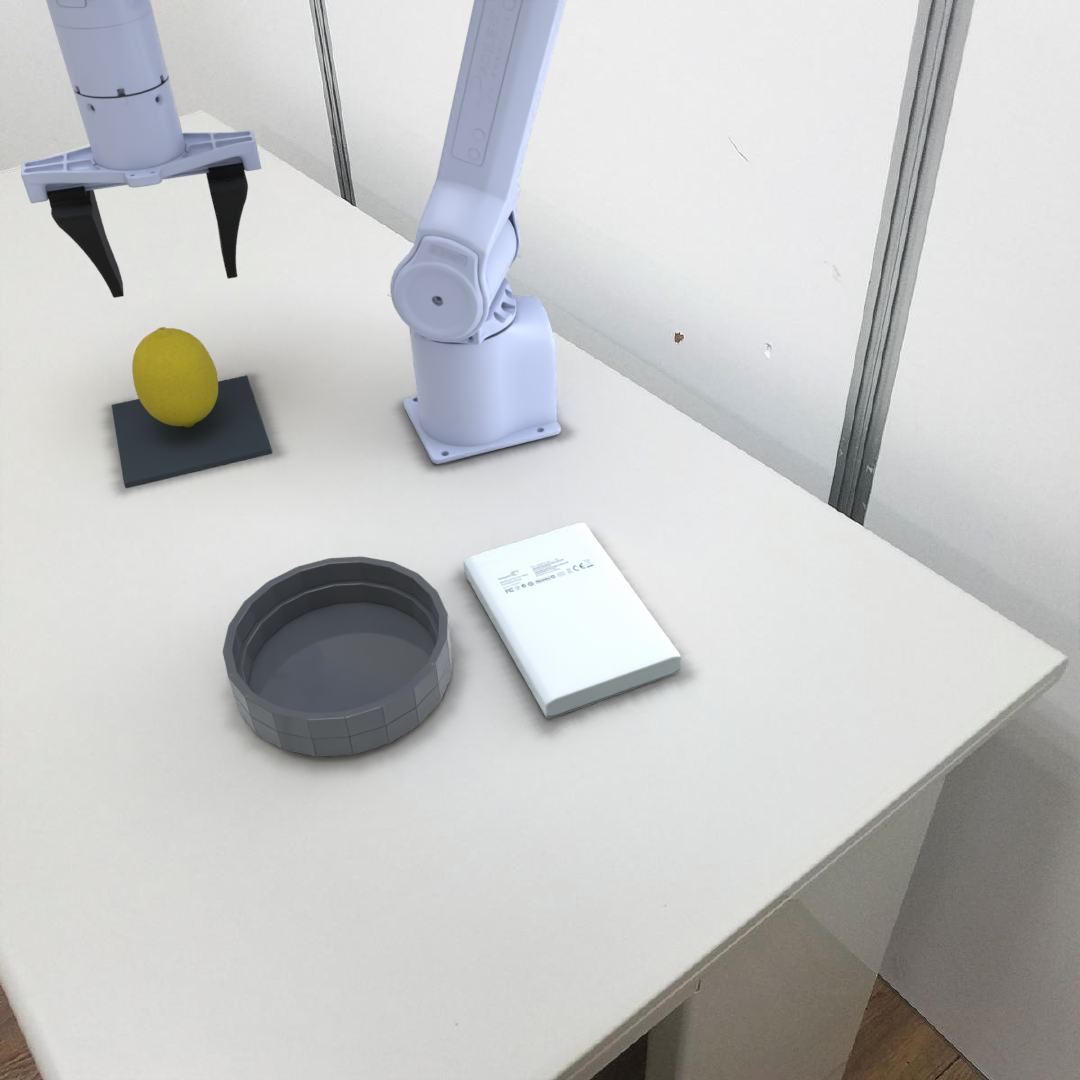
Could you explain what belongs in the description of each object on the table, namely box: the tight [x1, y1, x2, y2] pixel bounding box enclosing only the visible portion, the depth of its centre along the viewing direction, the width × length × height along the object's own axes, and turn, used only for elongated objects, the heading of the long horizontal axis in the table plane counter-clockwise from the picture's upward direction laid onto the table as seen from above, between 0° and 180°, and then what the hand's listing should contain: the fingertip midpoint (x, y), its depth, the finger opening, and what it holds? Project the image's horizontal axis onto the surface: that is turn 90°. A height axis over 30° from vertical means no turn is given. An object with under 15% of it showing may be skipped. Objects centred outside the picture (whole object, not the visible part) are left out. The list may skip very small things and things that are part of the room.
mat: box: [111, 375, 273, 488], centre depth 80 cm, size 10×10×1 cm
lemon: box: [131, 326, 219, 428], centre depth 77 cm, size 6×6×8 cm
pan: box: [222, 556, 453, 757], centre depth 61 cm, size 12×12×3 cm
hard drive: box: [462, 522, 682, 719], centre depth 64 cm, size 2×8×12 cm
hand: (175, 280), depth 77 cm, fingers open, 7 cm apart
